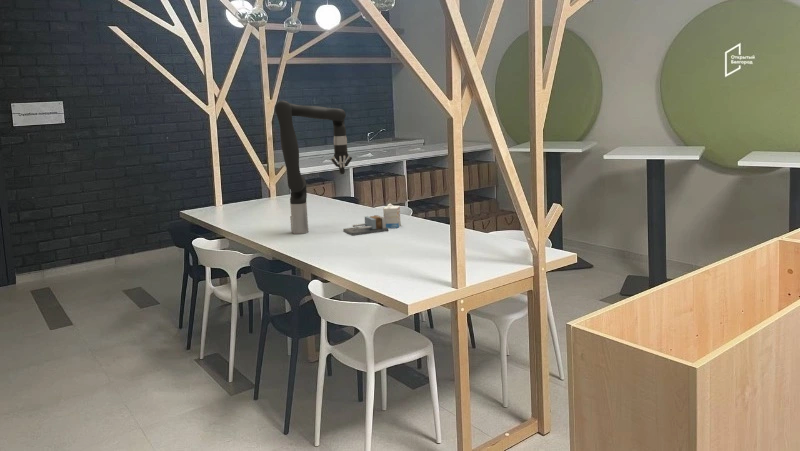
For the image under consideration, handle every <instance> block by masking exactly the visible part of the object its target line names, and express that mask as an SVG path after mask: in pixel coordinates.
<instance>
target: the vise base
mask: <svg viewBox="0 0 800 451" xmlns="http://www.w3.org/2000/svg"><path fill="white" fill-rule="evenodd" d="M373 216H378V217H380V218H381V228H377V229H371V228H368V229H360V230H358V228H359V227H360V226H357V227H347V228H343V232H344V233H346V234H347V235H350V236H354V237H355V236H360V235H367V234H368V235H369V234H375V233H383V232H389V228H386V218H384V216H381V215H378V214H376V215H373ZM361 227H366V226H361Z"/></svg>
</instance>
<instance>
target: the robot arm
mask: <svg viewBox="0 0 800 451" xmlns="http://www.w3.org/2000/svg"><path fill="white" fill-rule="evenodd" d="M273 109H274V113H275V114H276V116H277V121H278V124H279V130H280V131H279V133H280V134H279V138H280V145H281V151H282V156H283V161H284V164H285V169H286V178H287V180H286V181H287V186H288V188H289V191H290V196H289V198H290V199H289V205H290V217H289V218H290V232H291V233H292V234H293V235H301V234H306V233H309V220H308V206H307V205H308V204H307V202H308V201H307V195H308V193H307V192H308V191H307V182H306V179H305V176H304V175H302V173H301V169H300V150H299V144H298V143H299V142H298V139H297V135H296V131H295V128H294V125H293V124H294V123H293V117H301V118H308V119H315V120H328V121H332V125H333V149H334V152H333V153H334V154H333V157H331V158H330V159H329V160H330V161H331V162H332V163H333V164H334V166H335V167H337V168H338V173H339V174H340V175H344V174H345V173H346V169H345V168H346V167H348V166H349V164H350V162H351V161H352V160H353V157H351V156H349V153H348V139H347V128H346V125H345V118H346V114H347V113H346V112H345V110H344V109H342V108H334V107H326V106H318V105H299V104H294V103H289V101H286V100H279V101H277V102H276V103H275V105H274V108H273Z"/></svg>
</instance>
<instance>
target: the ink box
mask: <svg viewBox="0 0 800 451" xmlns="http://www.w3.org/2000/svg"><path fill="white" fill-rule="evenodd" d="M382 210H383V213H382V214H383V217H384V218H386V228H388V229H398V228H400V226H401V225H402V222H401V207H400V205H393V204H392V203H388V204H387V205H386V206H385V207H383V209H382Z"/></svg>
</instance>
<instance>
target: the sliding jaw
mask: <svg viewBox="0 0 800 451" xmlns="http://www.w3.org/2000/svg"><path fill="white" fill-rule="evenodd" d="M362 226H366V227H362ZM354 227H359V228H358V230H360V229H368V228H371V229H376V219H373V218H371V217H370V216H368V215H367V216H364V223H358V224H357V223H356V224H352V228H354Z"/></svg>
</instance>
